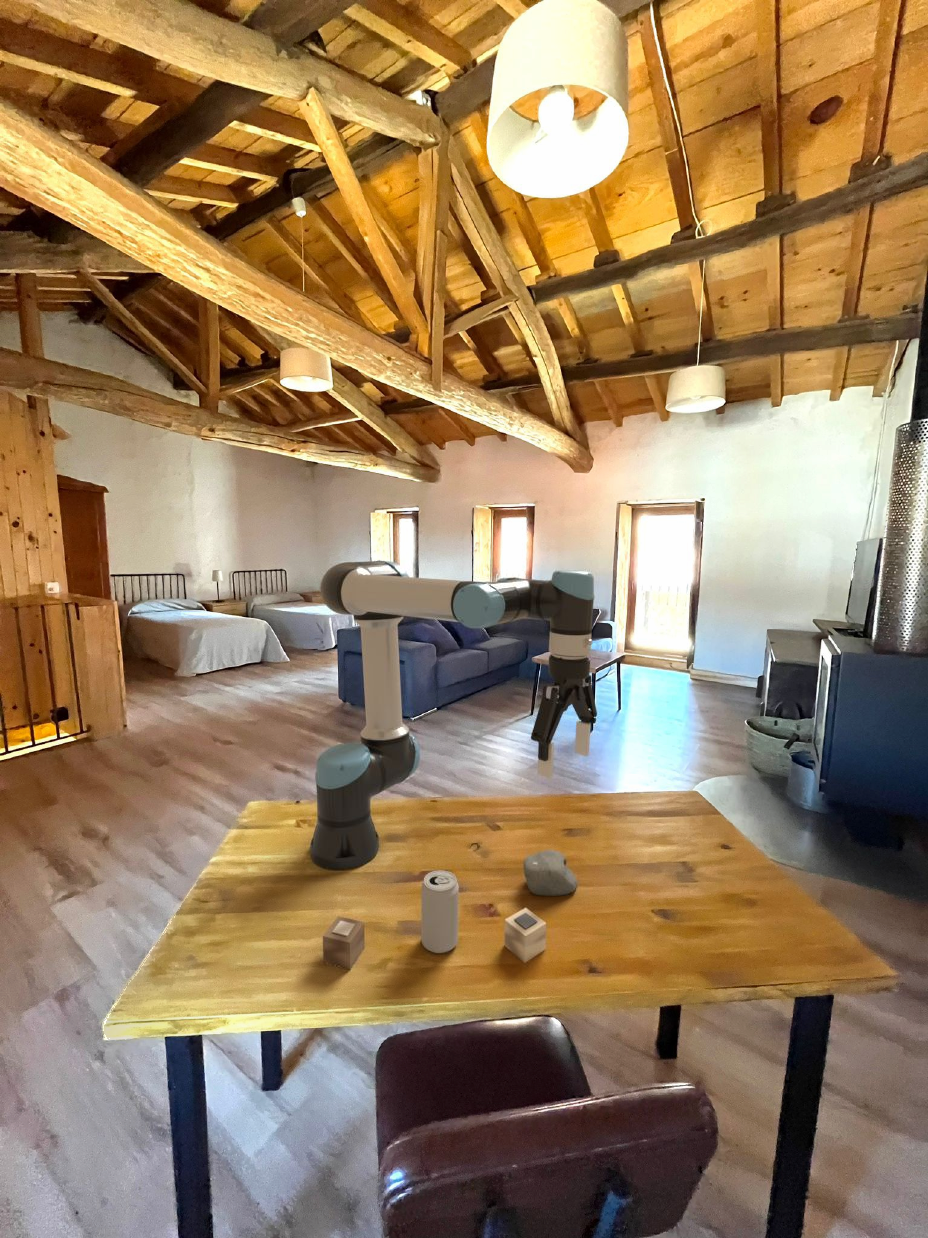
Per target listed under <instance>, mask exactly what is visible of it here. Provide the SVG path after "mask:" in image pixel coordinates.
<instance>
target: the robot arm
mask: <svg viewBox="0 0 928 1238" xmlns="http://www.w3.org/2000/svg"><path fill="white" fill-rule="evenodd" d="M322 576H323V577H322V579H321V582H320V588H319V589H320V596H321V599H322V601H323V603H324V605H325V606H326V607H327V608H328V609H329V610H330V611H332V612H334V613H336V614H339V615H344V616H346V615H347V616H348V615H351V616H353V621H354V623H356V624H357V625H359V627H360V636H361V637H360V638H361V640H360V641H361V654H362V668H363V669H362V670H363V688H364V705H365V708H364V709H365V724H366V725H365V727H364V728H363V729H362V730H361V731H360V742H354V741H353V742H346V743H339V744H336V745H333V746H331V747H329V748H327V749H326V750H324V751H323V752H322V753H321V754H319V756H318V758H317V760H316V765H315V767H316V768H315V775H314V778H315V786H316V812H317V822H316V825H315V827H314V831H313V835H312V836H313V837H312V838H311V841H310V846H309V852H310V855H309V856H310V859H311V860H312V862H313V863H314V864H315V865H316V866H318V867H320V868H323V869H325V870H326V869H328V870H333V871H335V870H336V871H340V870H342V871H343V870H350V869H355V868H357V867H360V866H362V865H365V864H367V863H368V862H370V861H371V860H372V859H374V858H375V857H376V856H377V854H378V852H379V851H380V849H379V848H380V839H379V838H380V837H379V835H378V832H377V831H376V828H375V823H374V821H373V818H372V815H371V812H372V811H371V799H372V798H373V797H375V796H377V795H378V794H380V793H382V792H384V791H387V790H388V789H390V788H392V787H394V786H395V785H399V784H401V783H403V782H405V781H406V780H407V779H408V778H409V777H411V776H412V775H413V774H414V773H415V772H416V770H417V769H418V767H419V764H420V759H421V752H420V751H421V750H420V746H419V744H418V742H417V741H416V737H414V735H413V734H411V733H410V729H409V727H408V726H407V725H406V724H405V723H404V722H403V712H402V711H403V709H402V708H403V707H402V706H403V705H402V689H401V688H402V687H401V671H400V651H399V649H400V648H399V631H398V625H399V623H400V622H401V621H402V620H403V619H404V616H405V617H410V618H421V619H427V620H429V619H430V620H436V621H438V620H439V621H445V622H446V621H447V622H453V623H454V622H455V623H461V624H462V626H464V627H466V628H469V629H486V628H490V627H492V626H497V625H500V624H504V623H509V622H513V621H518V620H522V619H528V620H529V619H530V620H541V621H549V624H550V625H549V627H550V628H549V643H548V645H549V646H548V652H549V653H550V655H549V656H548V664H547V665H548V667H547V668H548V671H547V672H548V674H549V676H551V677H552V678H553V684H552V686H549V685H544V686H543V688H542V694H541V699H540V700H541V701H540V703H539V708H538V712H537V714H536V718H535V721H534V725H533V728H532V732H531V734H530V740H531V741H534V742H536V743H538V747H537V750H538V751H537V753H538V754H537V775H538V776H541V777H545V778H547V779H553V776H554V773H553V772H554V753H555V752H554V751H555V742H553V738H554V736H555V735H556V734H555V733H556V731H557V728H558V726H559V724H560V722H561V719H562V717H563V714H564V712H566V711H567V710H568V708H569V707H570V706H571V705H572V707H573V710H574V712H575V714H576V716H577V718H578V719H579V720H577V721H576V722H575V724H576V725H575V740H574V741H575V744H574V754H578V755H581V756H584V757H589V755H590V739H591V724H594V725H595V724H596V722H597V718H596V717H598V716H597V715H598V710H597V707H596V706H597V705H596V701H595V695H594V693H593V692H594V691H593V688H592V687H593V686H592V675H590V674H591V671H590V670H591V658H590V657H589V655H590V654H591V649H592V647H591V646H592V645H593V640H592V631H593V630H592V629H593V616H594V615H593V613H594V601H595V589H594V588H595V583H594V582H595V578H594V576H593V574H592V572H590V571H586V570H585V571H584V570H568V569H567V570H565V569H563V570H562V569H560V570H558V569H557V570H555V571H553V573H552V576H551V579H547V580H546V579H545V580H542V579H532V578H520V577H515V576H514V577H501V578H499V579H497V580H496V581H473V580H471V581H470V580H457V579H455V580H454V579H453V580H452V579H440V578H439V579H438V578H424V577H411V576H410V575H409V573H408V572H407V571H406V570H405V569H404V567H403V566H401V565H400V564H399V563H397V562H394V561H389V560H388V561H386V560H380V559H379V560H374V561H373V560H371V561H346V562H341V563H338V564H335V565H333V566H332V567H330V568H329V569H328V570H327V571H326V572H325V574H324V575H322Z"/></svg>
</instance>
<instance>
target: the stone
mask: <svg viewBox="0 0 928 1238" xmlns="http://www.w3.org/2000/svg"><path fill="white" fill-rule="evenodd" d="M522 866H523V872H524V878H525V882H526V885H527V888H528V889H529V891H530V892H531V893H532V894H534V895H536V896H543V897H544V896H545V897H546V896H548V897H554V896H555V897H556V896H564V895H569V894H571V893H574V892H575V891H576V888H579V884H578V879H577V877H576V876H575V874H574V872H573V870H572V869H570V868H569V867H568V866H567V858H566V856H565V855H564V854H563V853H562V852H559V851H557V850H555V849H546V850H543V851H537V852H535V853H533V854H530V855H528V856H526V857H525V859H524V861H523V865H522Z"/></svg>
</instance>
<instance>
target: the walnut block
mask: <svg viewBox="0 0 928 1238" xmlns="http://www.w3.org/2000/svg"><path fill="white" fill-rule="evenodd" d="M365 937H366V936H365V922H364V921H360V920H356V919H354V918H353V919H352V918H348V917H344V916H340V915H339V916H337V917H336V918H335V919H334V921H333V922H332V923H331V924H330V926H329V927H328V929H327V930H326V931H325V932H324V933H323V935H322V956H323V964H325V963H328V964H327V965H329V964H331V965H330V966H333V965H336V966H335V967H337V966H340V967H339V968H341V967H342V968H341V969H345V968H346V969H345V970H349V971H351V970H352V969H353V967H354V966H353V965H355V964H356V962H357V961H358V959H359V957H360V956H361V955H362V953H363V951H364V950H365V944H366V943H365V942H366V941H365ZM351 968H352V969H351Z"/></svg>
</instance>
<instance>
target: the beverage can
mask: <svg viewBox="0 0 928 1238" xmlns="http://www.w3.org/2000/svg"><path fill="white" fill-rule="evenodd" d="M459 891H460V887H459V883H458V880H457V877H456V875H455V874H454V873H453V872H451V871H448V870H443V869H439V870H433V871H430V872H428V873H427V874H426V875H425V876H424V878H423V882H422V885H421V925H420V927H421V931H420V932H421V936H420V937H421V943H422V946H423V947H424V948H425V949H426V950H427V951H428V952H429V951H430V952H432V953H435V954H444V953H447V952H449V951H451V950H453V949H454V948H455V947H456V946H457V944H458V941H459V899H460V898H459Z"/></svg>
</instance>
